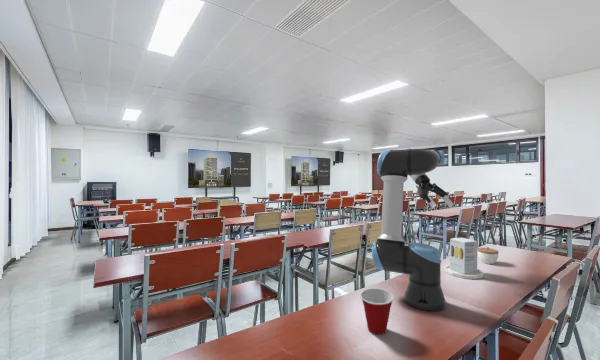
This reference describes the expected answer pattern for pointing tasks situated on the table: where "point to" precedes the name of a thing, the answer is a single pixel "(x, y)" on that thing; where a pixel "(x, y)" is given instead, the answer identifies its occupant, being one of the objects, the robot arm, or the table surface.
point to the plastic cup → (377, 308)
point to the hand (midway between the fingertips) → (443, 206)
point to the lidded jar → (487, 255)
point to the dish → (466, 276)
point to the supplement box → (463, 255)
